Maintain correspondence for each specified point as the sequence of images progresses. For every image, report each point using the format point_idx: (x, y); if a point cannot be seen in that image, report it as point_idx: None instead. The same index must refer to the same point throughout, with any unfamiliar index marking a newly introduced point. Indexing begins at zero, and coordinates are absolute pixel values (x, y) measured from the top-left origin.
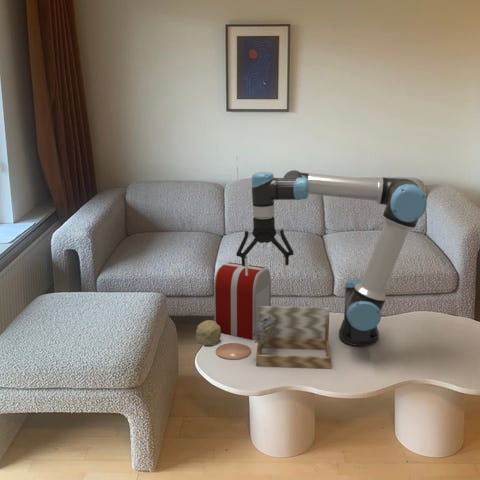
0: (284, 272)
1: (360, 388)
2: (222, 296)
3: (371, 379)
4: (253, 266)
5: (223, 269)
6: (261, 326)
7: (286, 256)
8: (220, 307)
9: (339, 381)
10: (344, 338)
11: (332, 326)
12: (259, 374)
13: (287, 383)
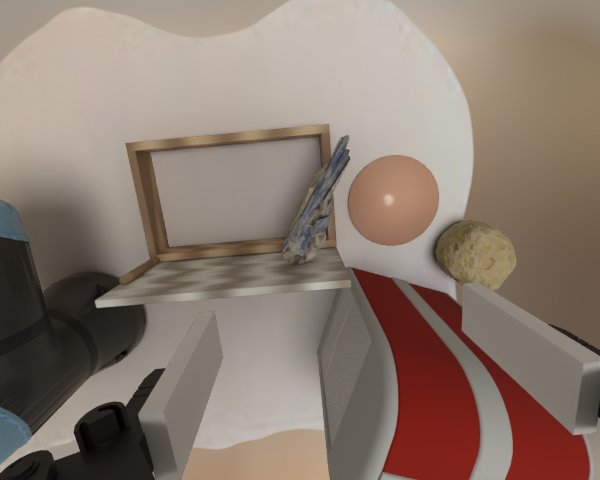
0: (202, 321)
1: (51, 43)
2: None
3: (34, 101)
4: None
5: (568, 468)
6: (326, 188)
7: (106, 413)
8: None
9: (108, 75)
10: None
11: None
12: (312, 81)
13: (234, 39)
